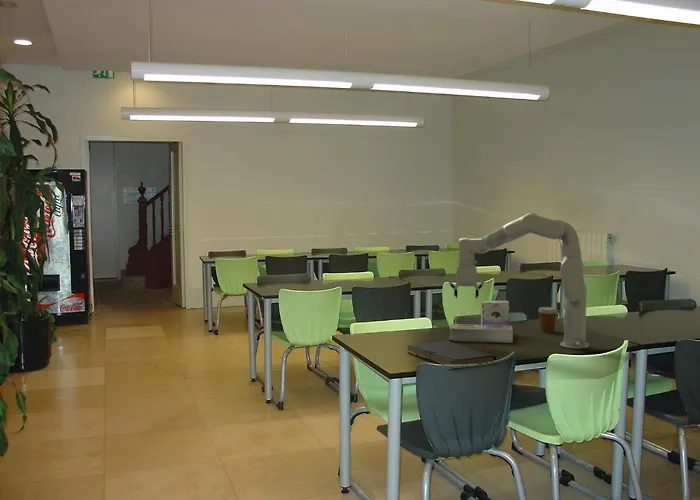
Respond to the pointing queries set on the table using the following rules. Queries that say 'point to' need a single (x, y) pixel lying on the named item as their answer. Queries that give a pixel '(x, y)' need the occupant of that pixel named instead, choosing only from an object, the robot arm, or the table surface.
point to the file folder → (450, 352)
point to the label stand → (481, 333)
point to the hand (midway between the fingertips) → (466, 297)
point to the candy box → (494, 313)
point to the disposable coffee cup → (547, 318)
